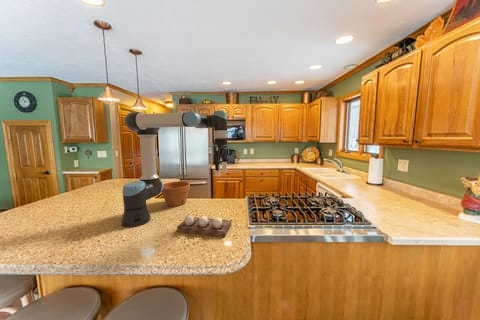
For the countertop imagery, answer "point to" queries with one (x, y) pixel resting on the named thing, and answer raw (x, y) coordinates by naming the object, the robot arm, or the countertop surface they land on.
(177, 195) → the flower pot
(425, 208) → the countertop surface
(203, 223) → the button
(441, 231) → the countertop surface
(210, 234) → the board
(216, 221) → the button
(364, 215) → the countertop surface
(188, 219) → the button
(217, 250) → the countertop surface
